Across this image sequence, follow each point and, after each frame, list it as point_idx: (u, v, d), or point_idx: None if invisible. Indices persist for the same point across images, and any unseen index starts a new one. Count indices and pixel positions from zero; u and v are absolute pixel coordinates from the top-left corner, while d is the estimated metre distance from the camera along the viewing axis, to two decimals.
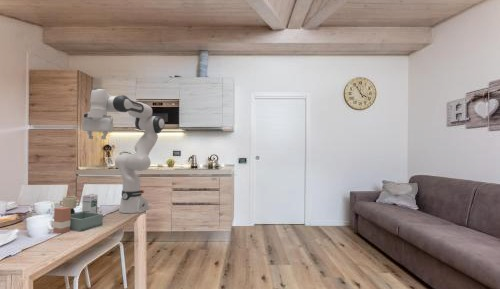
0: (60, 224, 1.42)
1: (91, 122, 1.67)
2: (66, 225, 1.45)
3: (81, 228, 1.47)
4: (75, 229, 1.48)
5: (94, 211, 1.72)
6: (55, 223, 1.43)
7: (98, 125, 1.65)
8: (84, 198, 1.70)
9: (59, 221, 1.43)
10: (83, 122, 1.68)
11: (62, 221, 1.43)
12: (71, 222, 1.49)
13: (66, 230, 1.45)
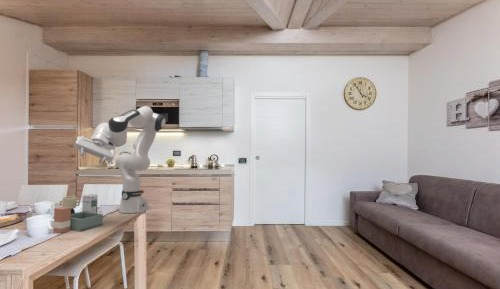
0: (60, 224, 1.42)
1: None
2: (66, 225, 1.45)
3: (81, 228, 1.47)
4: (75, 229, 1.48)
5: (94, 211, 1.72)
6: (55, 223, 1.43)
7: None
8: (84, 198, 1.70)
9: (59, 221, 1.43)
10: None
11: (62, 221, 1.43)
12: (71, 222, 1.49)
13: (66, 230, 1.45)
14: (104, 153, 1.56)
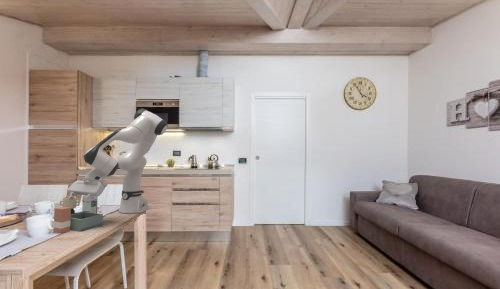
0: (60, 224, 1.42)
1: None
2: (66, 225, 1.45)
3: (81, 228, 1.47)
4: (75, 229, 1.48)
5: (94, 211, 1.72)
6: (55, 223, 1.43)
7: None
8: None
9: (59, 221, 1.43)
10: None
11: (62, 221, 1.43)
12: (71, 222, 1.49)
13: (66, 230, 1.45)
14: (88, 190, 1.53)
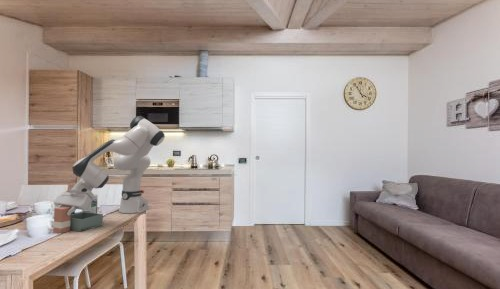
0: (60, 224, 1.42)
1: None
2: (66, 225, 1.45)
3: (81, 228, 1.47)
4: (75, 229, 1.48)
5: (94, 211, 1.72)
6: (55, 223, 1.43)
7: None
8: None
9: (59, 221, 1.43)
10: None
11: (62, 221, 1.43)
12: (71, 222, 1.49)
13: (66, 230, 1.45)
14: (74, 203, 1.47)
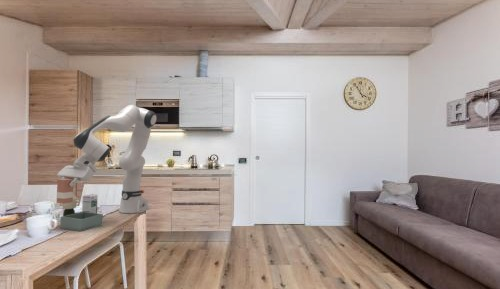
0: (63, 194, 1.45)
1: None
2: (69, 195, 1.48)
3: (81, 228, 1.47)
4: (75, 229, 1.48)
5: (94, 211, 1.72)
6: (58, 194, 1.46)
7: None
8: (84, 198, 1.70)
9: (62, 191, 1.46)
10: None
11: (65, 191, 1.46)
12: (71, 222, 1.49)
13: (69, 201, 1.48)
14: (77, 175, 1.49)
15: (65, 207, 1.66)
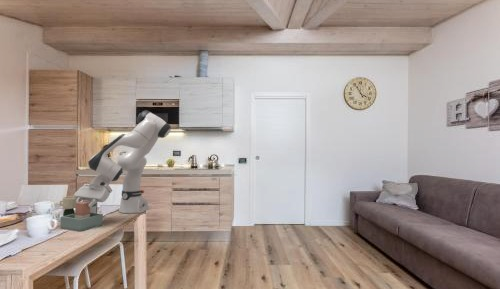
0: (81, 217, 1.53)
1: None
2: None
3: (81, 228, 1.47)
4: (75, 229, 1.48)
5: (94, 211, 1.72)
6: (76, 216, 1.54)
7: None
8: None
9: (80, 215, 1.53)
10: None
11: (83, 214, 1.53)
12: (71, 222, 1.49)
13: None
14: (94, 196, 1.57)
15: (65, 207, 1.66)
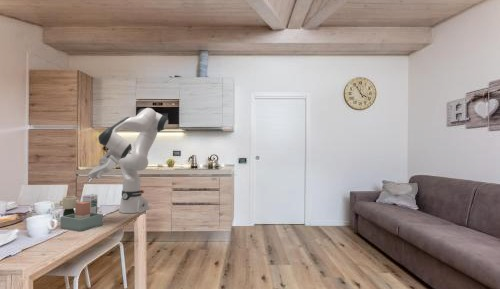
0: (81, 217, 1.53)
1: None
2: None
3: (81, 228, 1.47)
4: (75, 229, 1.48)
5: (94, 211, 1.72)
6: (76, 216, 1.54)
7: None
8: (84, 198, 1.70)
9: (80, 215, 1.53)
10: None
11: (83, 214, 1.53)
12: (71, 222, 1.49)
13: None
14: (100, 168, 1.59)
15: (65, 207, 1.66)
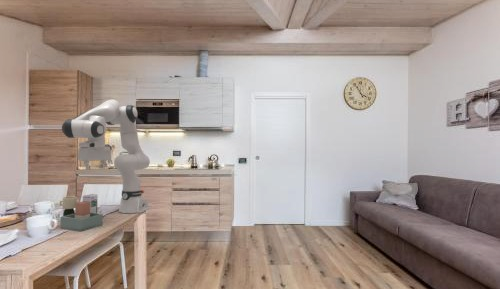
0: (81, 217, 1.53)
1: (93, 151, 1.59)
2: None
3: (81, 228, 1.47)
4: (75, 229, 1.48)
5: (94, 211, 1.72)
6: (76, 216, 1.54)
7: (101, 154, 1.64)
8: (84, 198, 1.70)
9: (80, 215, 1.53)
10: (86, 152, 1.54)
11: (83, 214, 1.53)
12: (71, 222, 1.49)
13: None
14: None
15: (65, 207, 1.66)
